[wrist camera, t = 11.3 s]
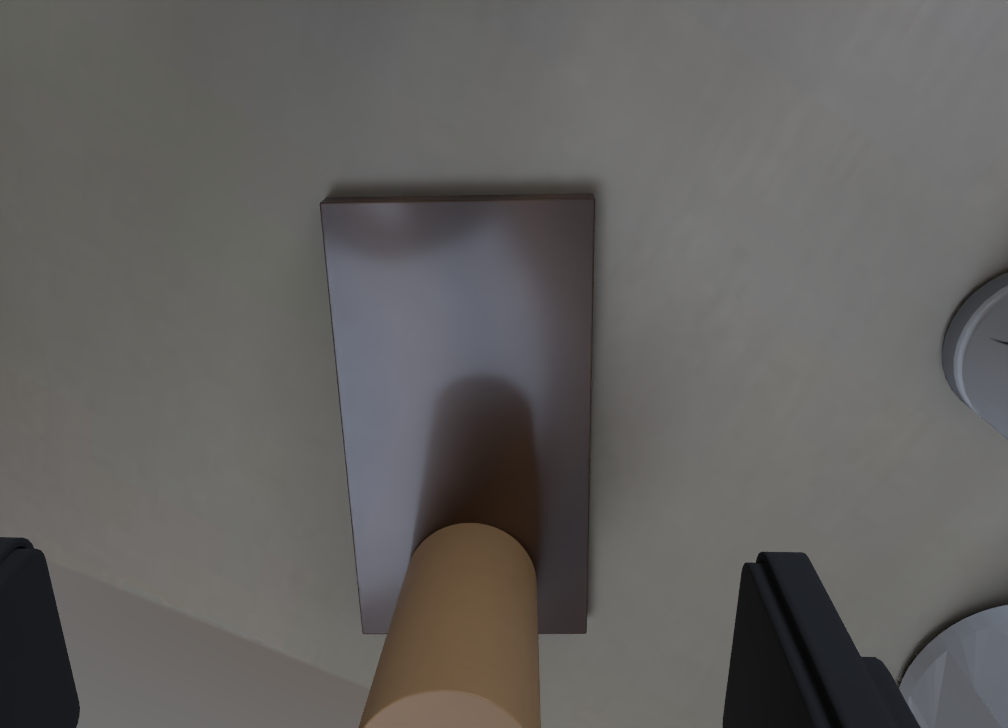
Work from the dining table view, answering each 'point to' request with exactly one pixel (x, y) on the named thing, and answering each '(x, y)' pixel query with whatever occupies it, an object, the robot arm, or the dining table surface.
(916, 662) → the mug
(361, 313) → the holder
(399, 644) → the paper roll
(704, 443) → the dining table surface
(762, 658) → the robot arm
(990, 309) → the travel mug
